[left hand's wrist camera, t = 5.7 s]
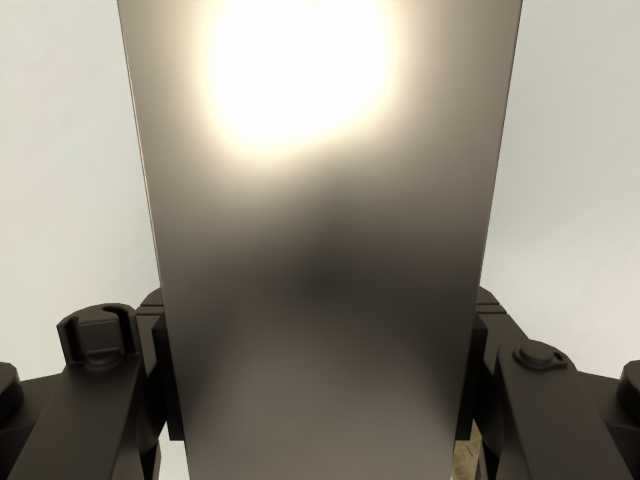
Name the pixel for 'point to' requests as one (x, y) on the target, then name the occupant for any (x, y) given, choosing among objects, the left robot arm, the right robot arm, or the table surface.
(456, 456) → the sculpture
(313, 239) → the bar
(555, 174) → the table surface
